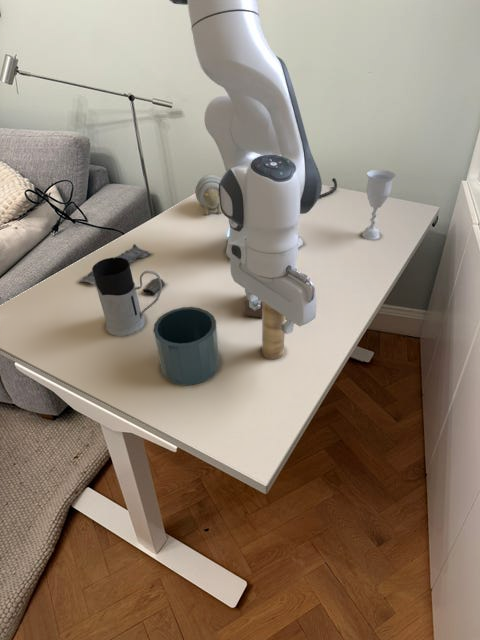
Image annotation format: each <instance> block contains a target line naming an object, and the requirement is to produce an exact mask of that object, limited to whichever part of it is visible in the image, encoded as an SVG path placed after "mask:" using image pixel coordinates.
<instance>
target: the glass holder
mask: <svg viewBox="0 0 480 640" xmlns="http://www.w3.org/2000/svg"><path fill="white" fill-rule="evenodd" d="M91 271H93V274H94V278H95V284H94V285H95V288H96V292H97V295H98V298H99V302H100V305H101V309H102V311H103V315H104V319H105V330H106V331H107V333H108V334H111V335H112V336H115V337H124V336H125V337H126V336H130V335H133V334H135V333H137V332H139V331H140V330H141V329H142V328H143V327H144V325H145V323H146V319H145V317H144V315H143V314H144V313H145V312H146V311H148V310H149V309H150V308H151V307H152V306H154V305H155V304H156V303H157V302H158V301H159V299H160V295H161V293H162V289H163V288H162V283H161V279H162V278H161V276H160V275H159V273H158V272H156V271H154V270H144V271H143V272H142V273H141V274H140V276H139V286H136V283H135V281H134V278H133V273H132V269H131V264H130V263H129V262H128V260H126V259H124V258H119V257H117V256H113V257H108V258H104V259H101V260H99V261H98V262H96V263H95V264H94V265H93V266H92V269H91ZM146 274H151V275H154V276H156V278H158V279H159V283H160V290H159V291H158V294H157V296H156V298H155V299H154V300H153V301H152V302H151V303H150V304H148V305H147V306H146V307H145V308H144V309H143V310H141V306H140V301H139V297H138V292H137V290H141V289H142V287H143V276H144V275H146Z"/></svg>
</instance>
